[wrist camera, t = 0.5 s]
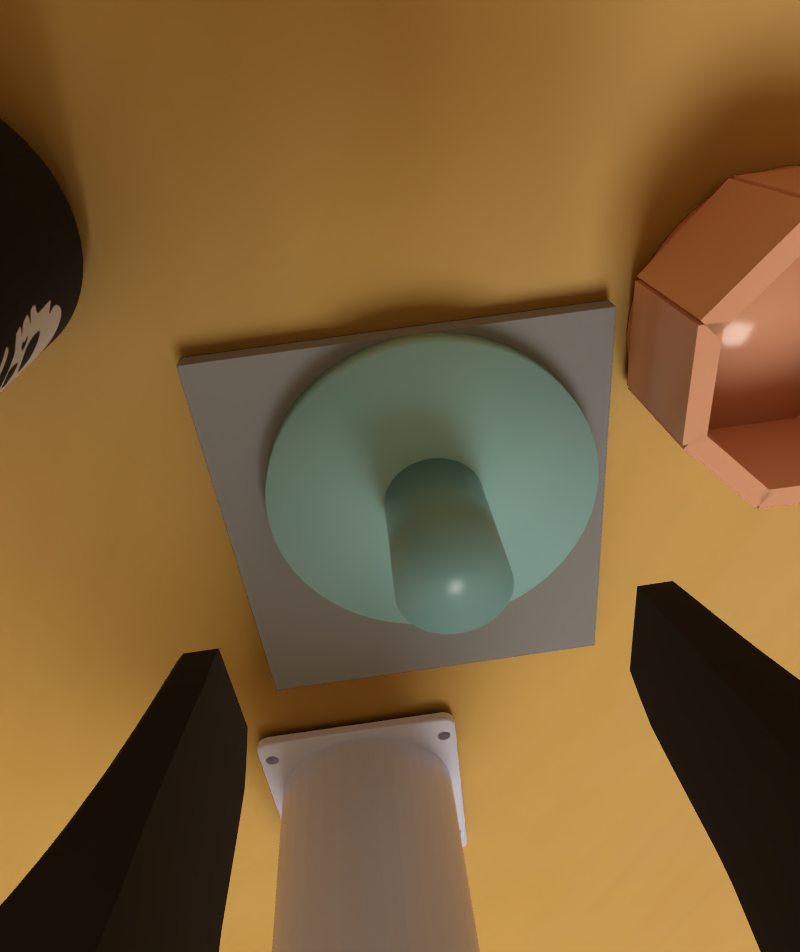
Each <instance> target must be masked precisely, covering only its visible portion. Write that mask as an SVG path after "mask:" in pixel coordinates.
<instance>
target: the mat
mask: <svg viewBox="0 0 800 952" xmlns="http://www.w3.org/2000/svg"><path fill="white" fill-rule="evenodd" d="M615 313H616V306H615V305H613V304H612V303H611V302H610V301H609V300H605V301H598V302H590V303H583V304H575V305H568V306H561V307H553V308H546V309H538V310H531V311H524V312H516V313H509V314H501V315H494V316H487V317H479V318H472V319H464V320H457V321H450V322H442V323H435V324H427V325H420V326H413V327H405V328H398V329H390V330H383V331H376V332H368V333H361V334H353V335H346V336H339V337H331V338H324V339H316V340H309V341H302V342H294V343H287V344H279V345H272V346H265V347H257V348H250V349H242V350H235V351H228V352H220V353H213V354H206V355H198V356H191V357H183V358H181V359H180V360H179V362H178V364H177V369H178V372H179V376H180V379H181V382H182V385H183V389H184V392H185V395H186V398H187V402H188V405H189V408H190V411H191V415H192V418H193V421H194V424H195V428H196V431H197V434H198V437H199V441H200V444H201V447H202V450H203V454H204V457H205V460H206V463H207V467H208V470H209V473H210V476H211V480H212V483H213V486H214V489H215V493H216V496H217V499H218V502H219V506H220V509H221V512H222V515H223V519H224V522H225V525H226V528H227V532H228V535H229V538H230V541H231V544H232V548H233V551H234V554H235V557H236V561H237V564H238V567H239V570H240V574H241V577H242V580H243V583H244V587H245V590H246V593H247V596H248V600H249V603H250V606H251V609H252V613H253V616H254V619H255V622H256V626H257V629H258V632H259V635H260V639H261V642H262V645H263V648H264V652H265V655H266V658H267V661H268V665H269V668H270V671H271V674H272V678H273V681H274V684H275V687H276V690H283V689H290V688H297V687H304V686H311V685H318V684H325V683H332V682H339V681H346V680H353V679H360V678H367V677H375V676H382V675H389V674H396V673H403V672H410V671H417V670H424V669H431V668H438V667H445V666H452V665H459V664H466V663H473V662H480V661H487V660H494V659H501V658H508V657H515V656H522V655H529V654H536V653H543V652H550V651H557V650H564V649H571V648H578V647H585V646H592V645H594V644H595V629H596V613H597V597H598V581H599V566H600V550H601V534H602V518H603V503H604V487H605V471H606V455H607V440H608V424H609V408H610V392H611V376H612V361H613V345H614V329H615ZM433 332H448V333H464V334H469V335H474V336H480V337H485V338H489V339H492V340H495V341H498V342H501V343H504V344H507V345H509V346H511V347H513V348H515V349H517V350H519V351H521V352H523V353H525V354H527V355H528V356H530V357H531V358H533V359H534V360H536V361H537V362H539V363H540V364H541V365H543V366H544V367H545V368H546V369H548V370H549V371H550V372H551V373H552V374H553V375H554V376H555V377H556V378H557V379H558V380H559V381H560V382H561V384H562V385H563V386H564V387H565V389H566V390H567V391H568V393H569V394H570V395H571V396H572V398H573V399H574V401H575V402H576V403H577V405H578V406H579V408H580V410H581V411H582V413H583V415H584V417H585V419H586V420H587V422H588V424H589V427H590V430H591V433H592V435H593V438H594V441H595V445H596V451H597V457H598V477H599V479H598V487H597V494H596V499H595V503H594V506H593V510H592V513H591V516H590V518H589V520H588V523H587V525H586V527H585V529H584V532H583V533H582V535H581V536H580V538H579V540H578V541H577V543H576V545H575V546H574V548H573V549H572V550H571V552H570V553H569V554H568V555H567V557H566V558H565V559H564V561H563V562H562V563H561V564H560V565H559V566H558V567H557V568H556V569H555V570H554V571H553V572H552V573H551V574H550V575H549V576H548V577H546V578H545V579H544V580H543V581H541V582H540V583H539V584H538V585H536V586H535V587H534V588H532V589H531V590H529V591H528V592H526V593H525V594H523V595H522V596H520V597H518V598H516V599H515V600H513V601H511V602H509V603H508V604H507V606H506V607H505V608H504V610H503V611H502V612H501V613H500V614H499V615H498V616H497V617H496V618H494V619H493V620H492V621H490V622H489V623H487V624H485V625H483V626H482V627H479V628H477V629H474V630H471V631H468V632H464V633H459V634H437V633H432V632H428V631H425V630H422V629H420V628H418V627H416V626H414V625H413V624H404V623H394V622H387V621H382V620H377V619H373V618H369V617H366V616H363V615H360V614H356V613H353V612H351V611H349V610H347V609H344V608H342V607H340V606H338V605H336V604H334V603H332V602H331V601H329V600H327V599H326V598H324V597H322V596H321V595H319V594H318V593H317V592H316V591H314V590H313V589H312V588H310V587H309V586H308V585H307V584H306V583H305V582H304V581H303V580H302V579H301V578H300V577H299V576H298V575H297V574H296V573H295V572H294V571H293V570H292V568H291V567H290V566H289V564H288V563H287V561H286V560H285V559H284V557H283V556H282V554H281V552H280V550H279V548H278V546H277V544H276V542H275V540H274V537H273V534H272V532H271V529H270V526H269V522H268V516H267V511H266V496H265V486H266V479H267V472H268V465H269V459H270V454H271V451H272V447H273V444H274V441H275V437H276V435H277V433H278V431H279V428H280V426H281V424H282V422H283V420H284V418H285V416H286V415H287V413H288V412H289V410H290V409H291V407H292V406H293V404H294V403H295V401H296V400H297V399H298V398H299V397H300V395H301V394H302V393H303V392H304V391H305V390H306V389H307V388H308V386H309V385H310V384H311V383H312V382H314V381H315V380H316V379H317V378H318V377H319V376H321V375H322V374H323V373H324V372H325V371H326V370H328V369H329V368H331V367H332V366H334V365H335V364H337V363H338V362H340V361H341V360H343V359H344V358H346V357H347V356H350V355H352V354H354V353H356V352H358V351H360V350H362V349H364V348H366V347H368V346H371V345H374V344H377V343H380V342H383V341H386V340H389V339H392V338H397V337H402V336H407V335H412V334H419V333H433Z"/></svg>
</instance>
